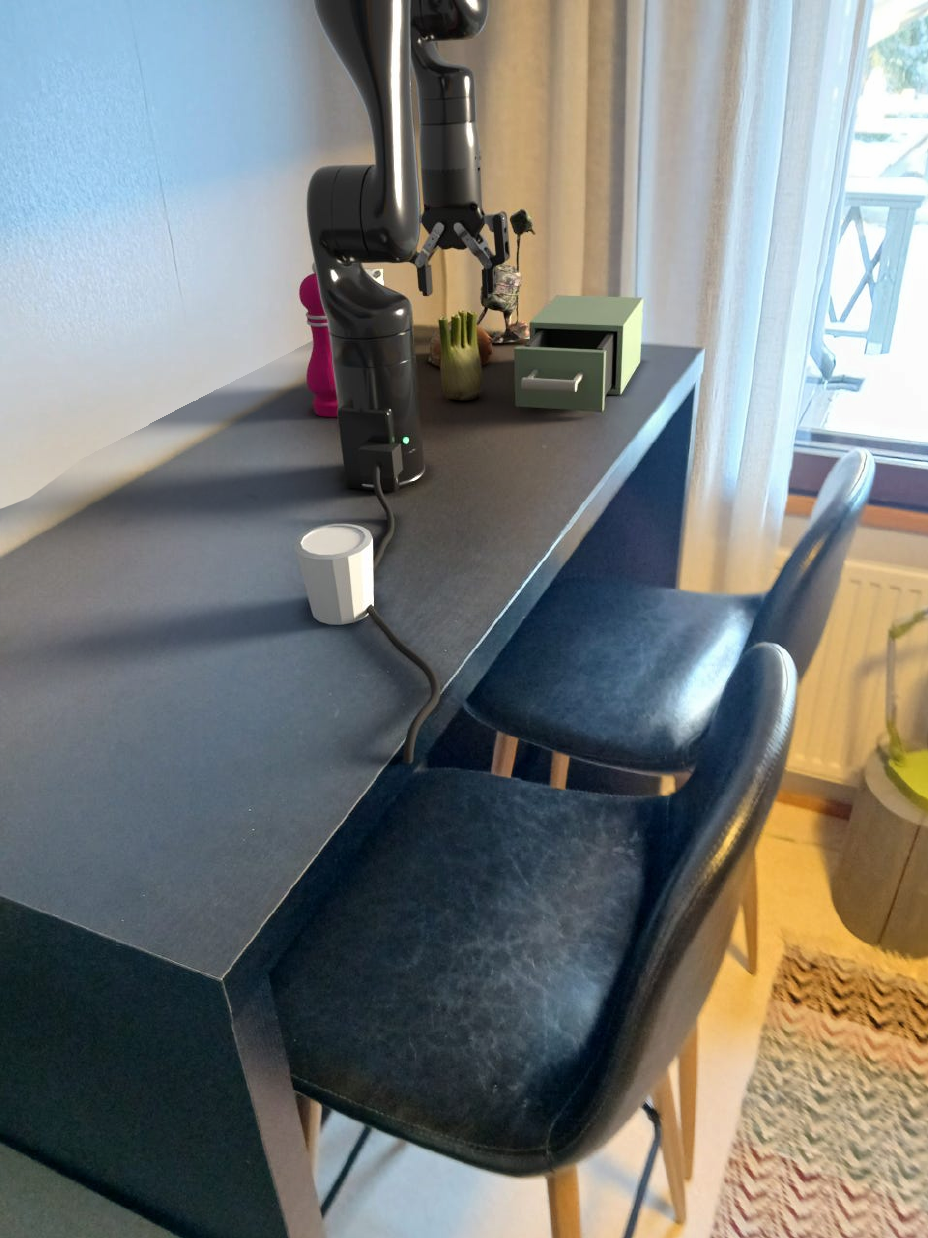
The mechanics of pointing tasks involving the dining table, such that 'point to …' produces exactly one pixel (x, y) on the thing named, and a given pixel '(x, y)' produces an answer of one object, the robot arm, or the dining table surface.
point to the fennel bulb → (460, 356)
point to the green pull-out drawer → (565, 369)
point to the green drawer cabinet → (599, 326)
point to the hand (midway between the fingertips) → (457, 295)
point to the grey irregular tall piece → (509, 288)
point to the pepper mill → (319, 350)
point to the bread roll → (435, 349)
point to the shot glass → (337, 571)
